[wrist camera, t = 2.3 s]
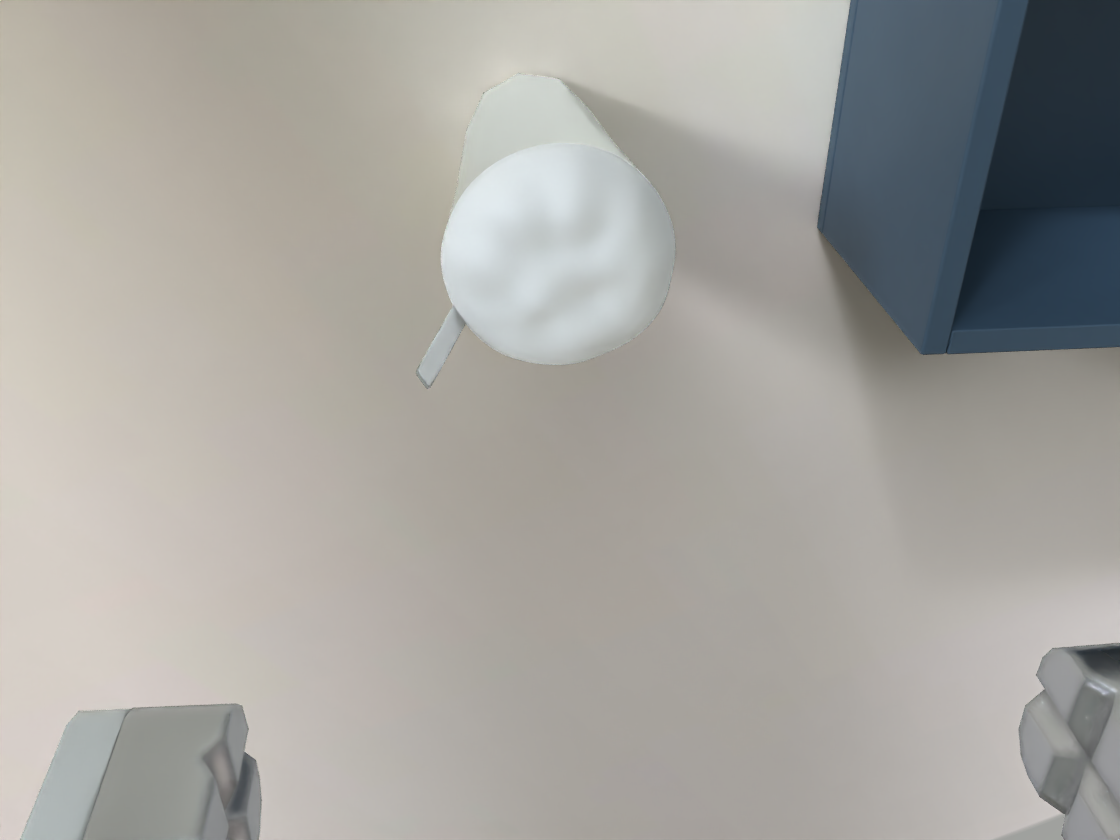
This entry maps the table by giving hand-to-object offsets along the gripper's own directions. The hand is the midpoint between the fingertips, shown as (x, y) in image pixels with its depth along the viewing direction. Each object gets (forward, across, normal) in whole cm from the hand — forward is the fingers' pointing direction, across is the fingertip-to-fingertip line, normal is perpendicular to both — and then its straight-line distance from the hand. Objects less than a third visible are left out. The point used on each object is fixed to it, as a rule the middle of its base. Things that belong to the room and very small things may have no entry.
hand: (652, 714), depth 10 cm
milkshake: (+20, 0, 0) cm, 20 cm away
